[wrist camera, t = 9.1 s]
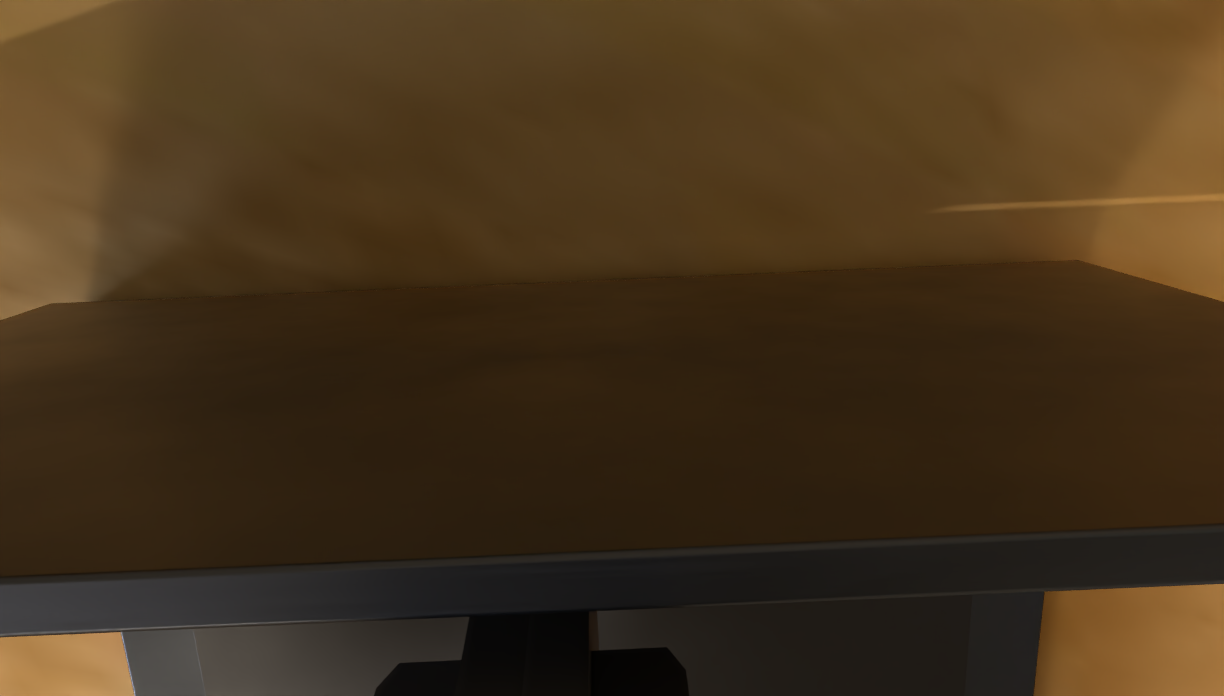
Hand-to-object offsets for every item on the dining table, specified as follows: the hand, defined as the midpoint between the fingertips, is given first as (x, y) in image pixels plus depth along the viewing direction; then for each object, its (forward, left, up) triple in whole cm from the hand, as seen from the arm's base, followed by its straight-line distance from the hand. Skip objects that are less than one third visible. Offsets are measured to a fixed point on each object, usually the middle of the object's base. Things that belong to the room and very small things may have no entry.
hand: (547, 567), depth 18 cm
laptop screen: (+1, -1, -5) cm, 5 cm away
